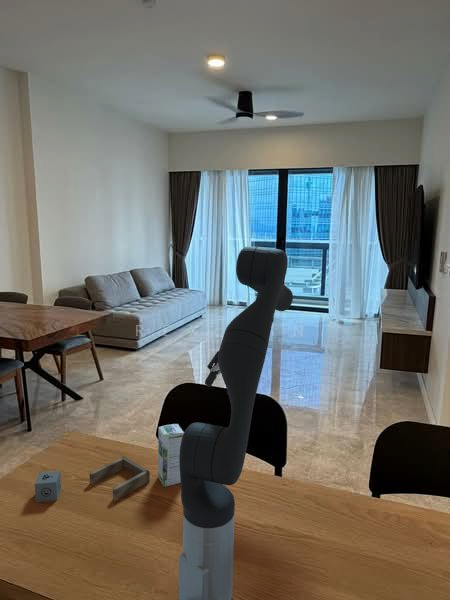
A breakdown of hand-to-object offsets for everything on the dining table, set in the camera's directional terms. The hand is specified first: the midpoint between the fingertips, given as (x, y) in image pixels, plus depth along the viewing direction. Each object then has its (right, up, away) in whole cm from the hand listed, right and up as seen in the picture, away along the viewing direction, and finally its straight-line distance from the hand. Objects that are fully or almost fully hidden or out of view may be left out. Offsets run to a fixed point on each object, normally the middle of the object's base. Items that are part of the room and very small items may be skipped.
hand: (217, 390), depth 116 cm
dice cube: (-43, -25, -8) cm, 50 cm away
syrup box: (-13, -24, 0) cm, 27 cm away
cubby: (-26, -24, -2) cm, 36 cm away
